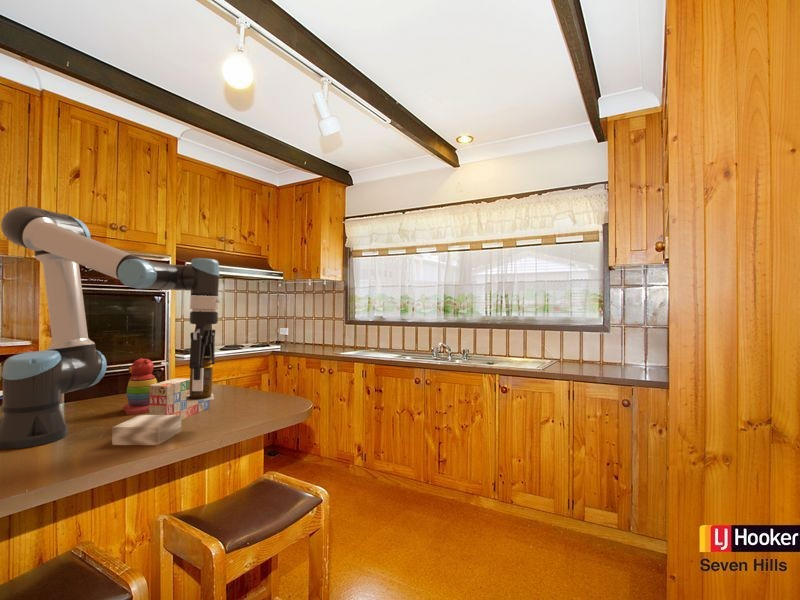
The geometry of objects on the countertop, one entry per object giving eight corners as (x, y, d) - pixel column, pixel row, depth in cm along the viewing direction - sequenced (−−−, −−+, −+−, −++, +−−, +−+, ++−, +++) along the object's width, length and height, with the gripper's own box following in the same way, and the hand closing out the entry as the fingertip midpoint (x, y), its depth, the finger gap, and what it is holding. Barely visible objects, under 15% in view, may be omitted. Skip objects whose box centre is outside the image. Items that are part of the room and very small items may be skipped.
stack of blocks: (193, 407, 150) (194, 373, 150) (209, 408, 149) (210, 373, 149) (148, 424, 129) (148, 384, 129) (166, 425, 128) (167, 385, 128)
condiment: (213, 393, 129) (214, 354, 129) (214, 399, 122) (215, 358, 122) (186, 395, 126) (187, 355, 126) (185, 401, 118) (187, 359, 118)
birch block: (112, 446, 110) (112, 427, 110) (139, 432, 122) (139, 414, 122) (158, 446, 110) (158, 427, 111) (181, 432, 123) (181, 415, 123)
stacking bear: (121, 409, 146) (121, 358, 146) (154, 404, 153) (154, 356, 153) (126, 415, 138) (127, 361, 138) (161, 410, 145) (162, 359, 145)
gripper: (205, 311, 116) (203, 395, 116) (227, 310, 135) (225, 382, 134) (177, 311, 115) (174, 395, 115) (202, 309, 134) (200, 382, 134)
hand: (201, 388), depth 125 cm, fingers closed on condiment, 6 cm apart
